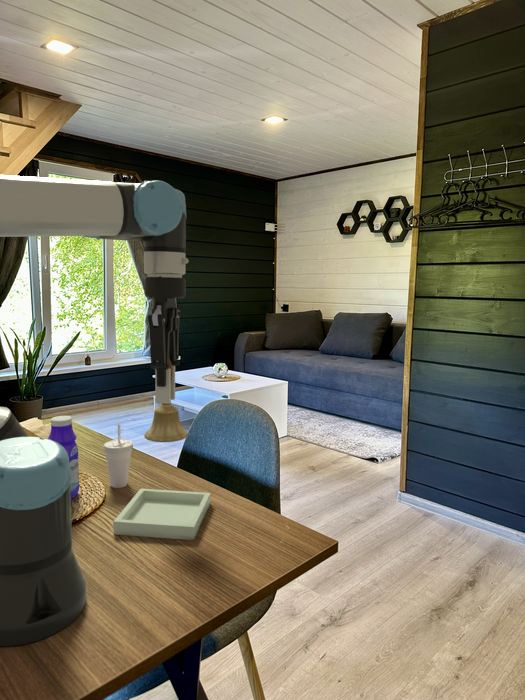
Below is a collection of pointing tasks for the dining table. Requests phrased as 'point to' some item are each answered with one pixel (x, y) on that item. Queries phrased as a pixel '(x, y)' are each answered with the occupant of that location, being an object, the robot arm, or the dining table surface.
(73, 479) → the bottle
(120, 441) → the smoothie
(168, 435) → the hand bell
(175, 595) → the dining table surface
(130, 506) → the tray
